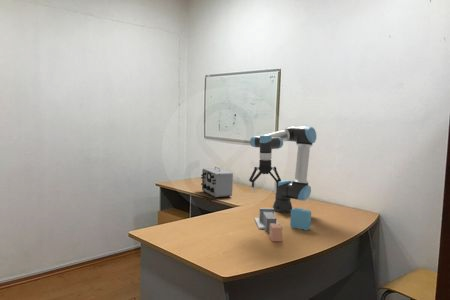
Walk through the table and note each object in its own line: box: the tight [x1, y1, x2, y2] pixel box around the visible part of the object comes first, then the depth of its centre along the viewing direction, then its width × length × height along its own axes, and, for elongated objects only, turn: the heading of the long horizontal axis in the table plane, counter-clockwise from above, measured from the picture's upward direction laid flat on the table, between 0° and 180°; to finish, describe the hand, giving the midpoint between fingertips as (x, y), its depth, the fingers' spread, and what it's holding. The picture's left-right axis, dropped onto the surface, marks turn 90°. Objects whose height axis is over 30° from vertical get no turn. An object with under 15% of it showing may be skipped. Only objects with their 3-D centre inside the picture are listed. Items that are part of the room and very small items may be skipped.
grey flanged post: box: [254, 207, 279, 232], centre depth 215 cm, size 14×24×10 cm, turn 3°
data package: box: [289, 207, 312, 231], centre depth 211 cm, size 12×4×12 cm, turn 58°
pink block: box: [269, 222, 283, 242], centre depth 190 cm, size 6×8×8 cm
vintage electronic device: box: [200, 166, 234, 199], centre depth 301 cm, size 32×18×25 cm, turn 25°
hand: (264, 192), depth 212 cm, fingers open, 13 cm apart
